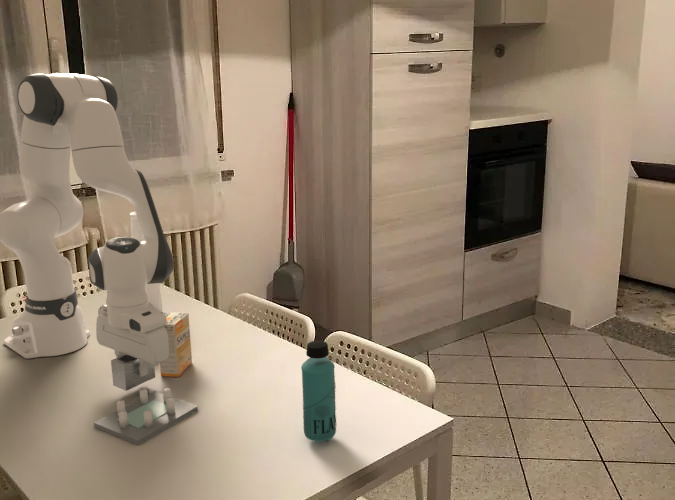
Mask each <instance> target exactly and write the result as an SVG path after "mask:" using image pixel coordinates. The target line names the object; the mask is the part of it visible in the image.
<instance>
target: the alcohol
mask: <svg viewBox="0 0 675 500" xmlns="http://www.w3.org/2000/svg"><path fill="white" fill-rule="evenodd" d="M129 216H130V217H129V219H130V237H131V238H134V239H137V240H138V241H139V242H141V241H143V240H144V236H143V233H142V230H141V227H140V224H139V221H138V218H137V215H136V212H135V211H132V212H130V213H129ZM146 290H147V293H148V296H149V303H151V304H152V305H153V306H154V307H155V308H156V309H157V310H159V311H160V312H161V313H163V304H162V292H161V283H154V284H146Z"/></svg>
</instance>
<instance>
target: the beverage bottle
mask: <svg viewBox="0 0 675 500" xmlns="http://www.w3.org/2000/svg"><path fill="white" fill-rule="evenodd" d="M305 353H306V356H307V357H308V358H307V359H306V360H305V361H304V362H303V363H302V364H301V368H300V369H301V379H302V380H301V386H302V417H303V418H302V419H303V420H302V421H303V427H302V428H303V434H304V436H305V437H306V439H308V440H310V441H312V442H327V441H329V440H332V439H333V438H334V436H335V435H336V432H337V425H338V424H337V414H336V409H337V408H336V403H337V402H336V391H337V390H336V389H337V387H336V380H335V379H336V375H335V363H334V362H333V360H331V359H330V358H328V356H329V354H330V352H329V344H328V343H327V342H326V341H324V340H313V341H310V342H308V343H307V344H306V352H305Z"/></svg>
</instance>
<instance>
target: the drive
mask: <svg viewBox="0 0 675 500" xmlns="http://www.w3.org/2000/svg"><path fill="white" fill-rule="evenodd" d="M140 364H141V363H139V359H138V358H135V357H132V356H129V355H127V354H125V355H122V356H120V357H118V358H117V357H116V358H113V359H111V360H110V367H111V375H112V385H113V386H114V387H117V388H118V389H120V390H123V391H126V392H127V391H129V390H131V389H134V388H135V387H138V386H140V385H143V384H144V383H146V382H148V381H150V380H152V379H155V378H156V368H155V367H156V366H155V365H154V364H151V363H149V365H148V367H147V369H148V374H147V375H145V376H143V377H142V376H140V375H137V368H138V367H140Z"/></svg>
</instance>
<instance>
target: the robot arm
mask: <svg viewBox="0 0 675 500" xmlns="http://www.w3.org/2000/svg"><path fill="white" fill-rule="evenodd" d="M22 78H23V79H22V80H21V81H20V83H19V85H18V89H17V94H16V95H17V96H16V97H17V103H18V107H19V110H20V111H21V112H22V114H23V118H22V125H21V135H20V151H19V167H18V170H19V174H20V175H21V176H22V177H23V178H24V179H25V180H26V181H28V183H29V186H30V191H31V195H30V196H31V197H30V198H29V199H26V200H24V201H20V202H16V203H14V204H12V205H10V206H8V207H7V208H6V209H4V210H3V211H1V212H0V243H1V244H2V245H3V246H5V247H6V248H8V249H9V250H11V251H13V253H14V254H15V255H16V257H17V259H18V261H19V263H20V265H21V268H22V270H23V272H22V273H23V275H24V281H25V287H26V293H27V295H25V296H22V298H23V299H22V301H23V302H25V305H24V310H23V311H21V313H20V314H18V316H16V317H15V318H14V319H13V321H12V323H11V328H12V329H11V333H12V334H10V335H8V336H7V337H6V338H5V339H4V340H3V345H5V346H7V348H10V349H11V350H12V351H13V352H15V353H17V354H18V355H19V356H21V357H23V358H24V359H34V358H40V357H42V358H43V357H55V356H61V355H65V354H69V353H72V352H75V351H78V350H80V349H81V348H83V347H85V346H86V345H87V344H88V341H89V340H88V337H89V336H90V334H91V332H90V330H89V329H86V324H85V319H84V316H83V315H84V314H83V310H82V308H81V306H79V305H78V304H79V301H78V294H77V290H76V289H75V285H74V278H73V269H72V263H71V261H70V260H69V259H68V258H67V257H66V256H64V255H61V254H60V252H59V250H58V247H57V245H56V239H57V238H58V237H59V238H60V237H61V236H64V235H66V234H68V233H70V232H71V231H73V230H74V229H75V228H77V226H79V224H81V222H82V220H83V218H84V207H83V204H82V202H81V201H80V199H79V198H78V197H77V196H76V195H75V194H74V192H73V188H72V185H71V184H72V183H71V180H70V179H71V176H70V169H71V168H70V164H71V157H72V163H73V167H74V170H75V173H76V176H77V177H78V178H79V179H80V181H82V182H83V183H84V184H85V185H87V186H88V187H91V188H92V189H95V190H96V191H97V190H98V191H101V192H103V193H108V194H112V195H116V196H118V197H122V198H124V199H125V200H126V201H128V202H129V203H130V204H131V205H132V206H133V207H132V208H133V209H134V212H136V215H137V218H138V221H139V224H140V227H141V230H142V233H143V236H144V240H143V241H141V242H139V241H138V240H137V239H134V238H131V236H119V237H118V236H117V237H112V238H110V239H109V240H107V241H106V242H105V243H104V245H103V246H100V247H98V248H95V249H94V250H93V251H92V252H91V253H90V255H89V257H88V258H87V262H88V263H87V264H88V274H89V281H90V283H91V284H92V285H94V287H96V288H99V289H100V290H101V291H106V294H107V295H106V300H105V302H106V304H102V305H101V306H100V307H99V308H98V309H97V314H98V315H97V317H96V323H95V328H96V329H95V331H96V332H95V333H96V334H95V335H96V336H95V337H96V340H97V343H98V345H100V346H104V347H106V348H108V349H111V350H114V355H115V357H116V358H118V357H120V356H122V355H125V354H127V355H129V356H132V357H135V358H138V359H139V363H141V364H140V367H138V368H137V375H140V376H142V377H143V376H145V375H147V374H148V369H147V367H148V365H149V363H151V364H154V366H156V365H160V363H162V362H164V361H166V360H167V358H168V357H169V342H168V334H167V331H166V329H165V327H164V326H163V325H165V324H166V323H167V318H166V316H167V315H165V314H164V313H163V312H160V311H159V310H157V309H156V308H155V307H154V306H153V305H152V304H151V303H149V296H148V293H147V290H146V284H154V283H160V284H163V283H164V282H166V280H167V279H168V278H169V277H170V276H171V275H172V273H173V271H174V269H175V262H174V261H175V259H174V257H173V256H174V255H173V253H172V251H171V248H170V245H169V244H168V241H167V239H166V236H165V233H164V231H163V226H162V224H161V222H160V218H159V214H158V212H157V208H156V206H155V202H154V199H153V196H152V194H151V193H152V192H151V190H150V187H149V185H148V182H147V179H146V178H145V176H144V174H143V173H142V172H141V171H140V170H138V169H135V168H134V167H133V166H132V163H131V162H130V161H129V159H128V157H127V155H126V151H125V145H124V138H123V134H122V130H121V126H120V122H119V118H118V116H117V113H116V111H117V109H118V106H119V105H118V104H119V98H118V92H117V90H116V87H115V85H114V84H113V83H112V81H110V80H109V79H107V78H104V77H101V76H97V75H86V74H79V73H69V72H68V73H50V74H49V73H47V74H45V73H40V72H39V73H34V74H33V73H32V74H29V75H27V76H25V77H22Z"/></svg>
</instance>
